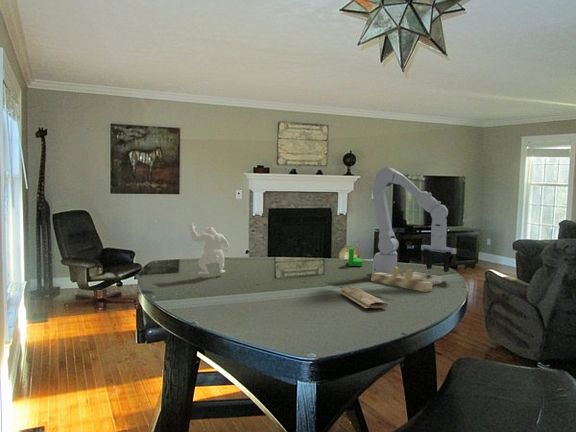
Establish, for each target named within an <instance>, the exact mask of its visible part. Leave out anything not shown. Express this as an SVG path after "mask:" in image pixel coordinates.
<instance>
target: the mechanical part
mask: <svg viewBox="0 0 576 432" xmlns="http://www.w3.org/2000/svg"><path fill="white" fill-rule="evenodd" d="M354 250H355V248H354V246H353V247H350V246H349V247H348V259H347V260H348V261H347V263H348V266H351V267H352V266H353V267H354V266H356V267H357V266H358V267H362V266H363V259H362V258H360V257H354V256H355V255H354V254H355V251H354Z"/></svg>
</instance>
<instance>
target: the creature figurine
mask: <svg viewBox="0 0 576 432" xmlns="http://www.w3.org/2000/svg"><path fill="white" fill-rule="evenodd" d="M194 224H195V223H193V222H190V223H189V224H188V226H189V229H190V236H191V239H192V241H194V242H195V241H196V242H199V243H200V242H205V243H204V246H203V253H202V255H201V256H200V258H199V259H198V262H197V264H198V266H199V268H200V269H202V271H198V272H197V274H198V275H210V272H209V270H208V267H207V265H210V264H215V263H216V264H218V267H219V273H220V274H222V273H223V274H224V273H226V270H225V269H224V268H225V254H224V253H228V251H229V249H230V243H229V242H228V240H227V239H226V238H225V236H224V234H222V233H220V232H219V233H218V232H217V231H216V229H215V227H212V226H209V227H206V228H205V231H204V233H200V234H198V232H197V231H196V230H195V229H196V225H194ZM222 246H223V247H222Z"/></svg>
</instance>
